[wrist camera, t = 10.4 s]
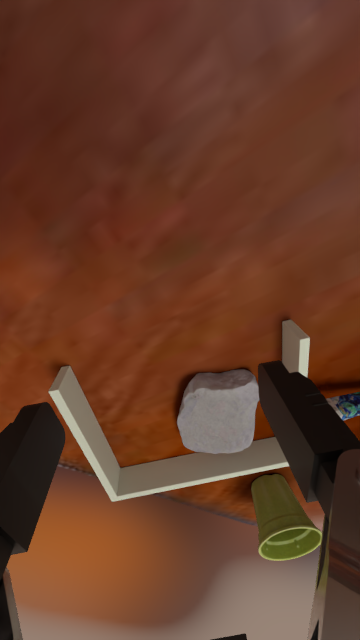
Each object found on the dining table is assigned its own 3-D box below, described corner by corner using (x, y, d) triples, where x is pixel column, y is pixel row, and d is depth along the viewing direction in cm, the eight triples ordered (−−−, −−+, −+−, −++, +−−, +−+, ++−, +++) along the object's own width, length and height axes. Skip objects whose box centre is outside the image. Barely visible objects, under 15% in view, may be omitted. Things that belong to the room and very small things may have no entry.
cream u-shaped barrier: (61, 367, 29) (48, 391, 26) (290, 319, 29) (309, 337, 25) (116, 473, 39) (112, 501, 35) (288, 438, 39) (301, 463, 35)
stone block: (180, 426, 38) (248, 431, 37) (176, 454, 34) (252, 461, 33) (179, 360, 33) (257, 364, 32) (174, 384, 29) (264, 389, 28)
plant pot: (229, 488, 44) (245, 552, 36) (270, 459, 41) (297, 521, 33) (264, 504, 47) (286, 565, 39) (304, 477, 44) (336, 538, 36)
